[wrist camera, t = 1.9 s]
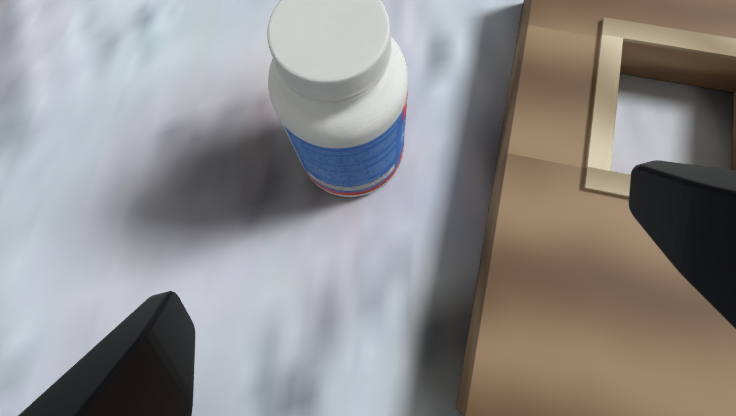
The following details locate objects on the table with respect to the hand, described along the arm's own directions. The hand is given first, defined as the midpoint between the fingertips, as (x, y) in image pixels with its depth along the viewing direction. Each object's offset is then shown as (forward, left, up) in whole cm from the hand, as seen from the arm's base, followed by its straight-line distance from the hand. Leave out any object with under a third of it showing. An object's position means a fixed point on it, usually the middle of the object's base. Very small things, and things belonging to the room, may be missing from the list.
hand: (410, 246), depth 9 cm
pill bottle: (+4, +7, -14) cm, 16 cm away
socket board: (+12, -7, -13) cm, 19 cm away
